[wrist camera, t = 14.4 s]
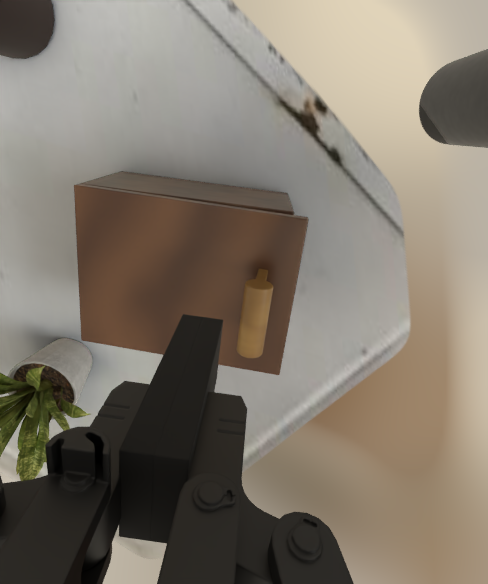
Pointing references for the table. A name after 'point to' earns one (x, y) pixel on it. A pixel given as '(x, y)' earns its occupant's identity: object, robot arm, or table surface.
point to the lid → (186, 272)
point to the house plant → (42, 399)
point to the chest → (197, 191)
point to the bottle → (25, 27)
